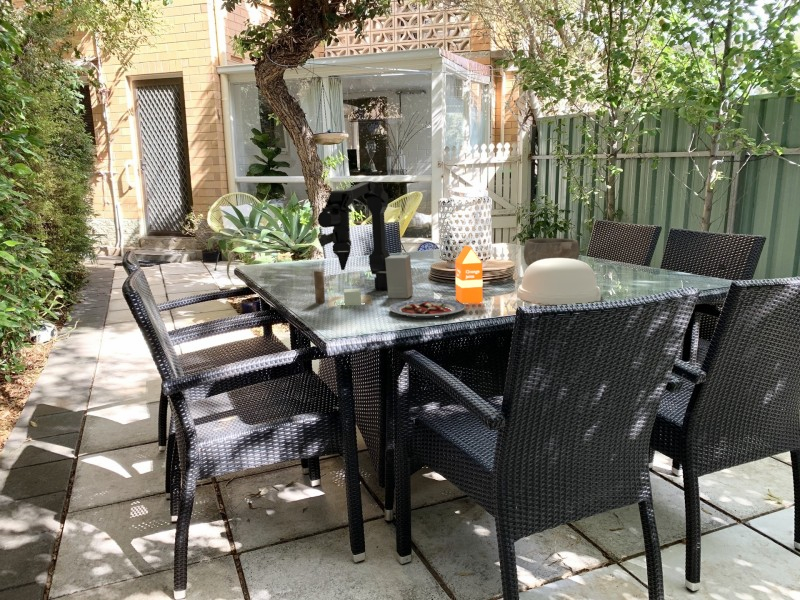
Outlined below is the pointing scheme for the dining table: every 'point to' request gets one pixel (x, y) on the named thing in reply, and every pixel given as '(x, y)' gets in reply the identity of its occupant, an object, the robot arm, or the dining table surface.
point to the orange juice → (468, 277)
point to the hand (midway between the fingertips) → (343, 268)
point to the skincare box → (399, 276)
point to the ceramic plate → (427, 307)
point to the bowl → (550, 249)
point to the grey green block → (352, 297)
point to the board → (364, 298)
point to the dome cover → (559, 282)
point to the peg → (319, 287)
